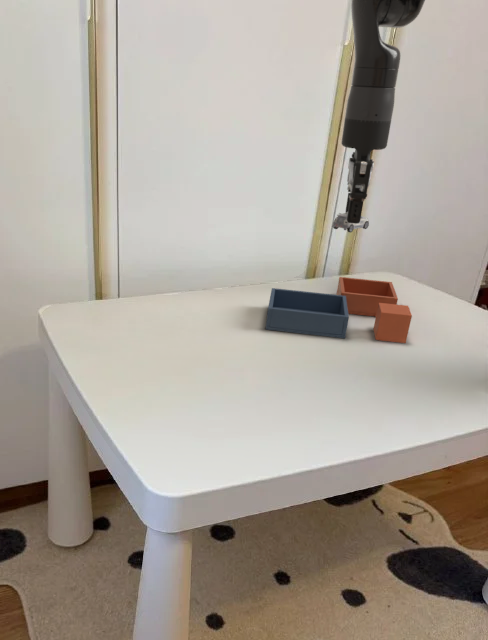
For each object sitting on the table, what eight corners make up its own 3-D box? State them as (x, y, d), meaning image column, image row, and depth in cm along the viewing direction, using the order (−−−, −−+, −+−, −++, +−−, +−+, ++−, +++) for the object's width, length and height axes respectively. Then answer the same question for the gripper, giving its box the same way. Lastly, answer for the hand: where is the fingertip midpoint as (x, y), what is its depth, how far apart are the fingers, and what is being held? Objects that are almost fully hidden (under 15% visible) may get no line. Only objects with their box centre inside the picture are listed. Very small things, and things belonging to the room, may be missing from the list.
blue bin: (342, 315, 106) (345, 295, 104) (345, 338, 97) (348, 317, 95) (269, 307, 107) (271, 287, 106) (265, 329, 98) (268, 308, 97)
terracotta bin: (388, 300, 114) (392, 281, 112) (393, 318, 106) (398, 298, 104) (336, 295, 115) (339, 276, 113) (337, 312, 107) (341, 292, 105)
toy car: (372, 227, 115) (374, 211, 114) (346, 233, 110) (349, 216, 109) (354, 224, 117) (357, 207, 116) (329, 229, 113) (331, 212, 111)
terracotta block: (402, 332, 100) (408, 305, 98) (405, 343, 96) (412, 315, 94) (373, 329, 101) (378, 302, 99) (375, 340, 97) (381, 312, 95)
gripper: (396, 121, 98) (376, 229, 106) (387, 115, 111) (370, 212, 119) (346, 118, 99) (331, 225, 107) (343, 113, 112) (330, 209, 120)
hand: (352, 218), depth 113 cm, fingers closed on toy car, 7 cm apart
